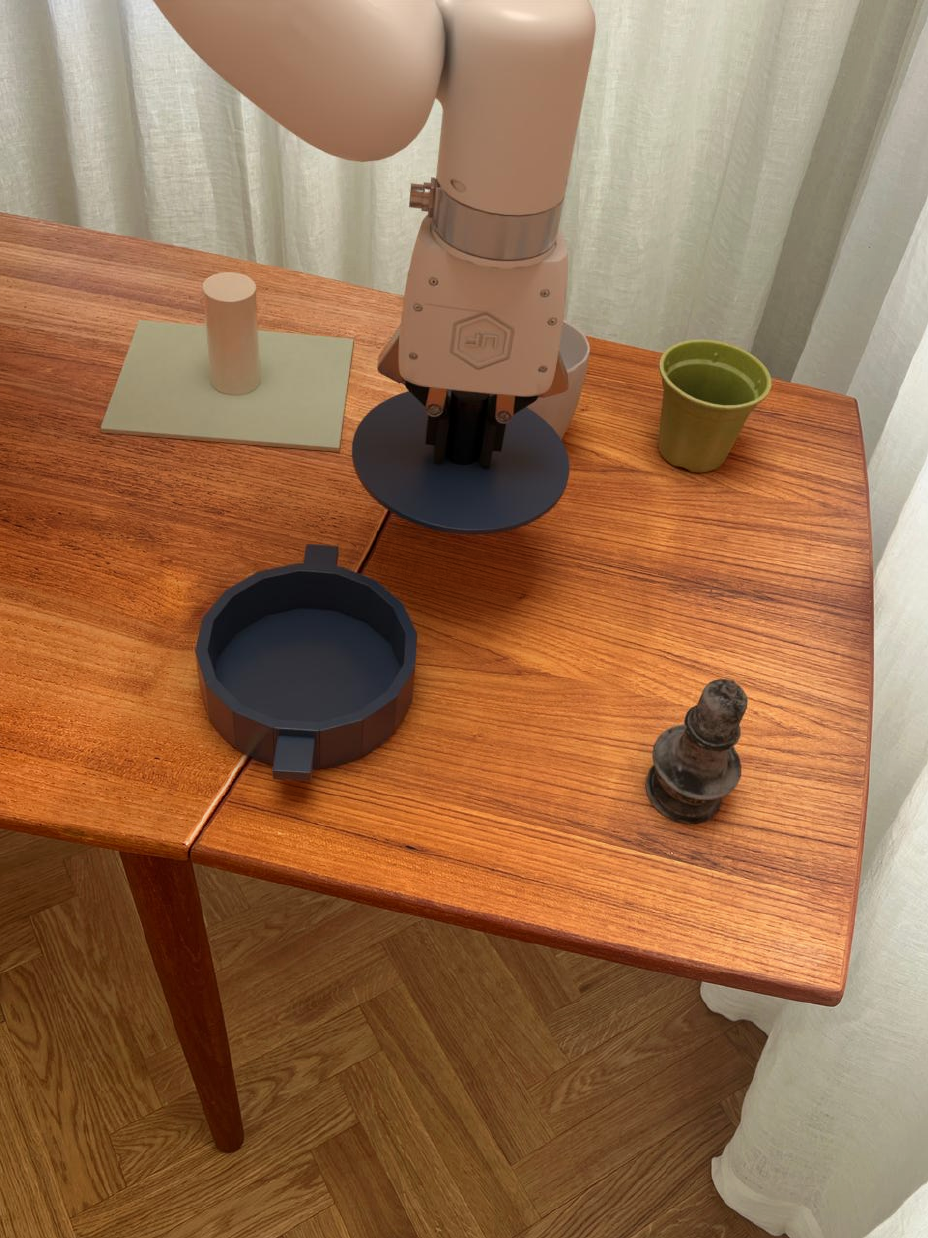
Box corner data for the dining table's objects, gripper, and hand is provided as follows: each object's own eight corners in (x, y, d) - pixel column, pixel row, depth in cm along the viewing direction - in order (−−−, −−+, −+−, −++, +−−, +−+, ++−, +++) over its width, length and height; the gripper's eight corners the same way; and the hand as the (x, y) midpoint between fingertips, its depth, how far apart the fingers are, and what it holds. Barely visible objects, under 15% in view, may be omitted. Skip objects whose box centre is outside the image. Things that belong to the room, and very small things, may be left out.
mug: (586, 429, 100) (608, 335, 93) (542, 484, 95) (560, 388, 87) (464, 378, 103) (475, 282, 96) (414, 427, 98) (422, 330, 90)
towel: (100, 432, 93) (99, 428, 93) (139, 323, 104) (139, 319, 104) (339, 452, 95) (339, 447, 94) (353, 342, 105) (353, 338, 105)
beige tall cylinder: (206, 393, 97) (197, 298, 90) (214, 363, 100) (206, 269, 93) (257, 397, 98) (252, 303, 91) (263, 367, 101) (259, 274, 94)
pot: (177, 797, 71) (170, 758, 68) (225, 572, 84) (221, 529, 81) (405, 811, 72) (410, 773, 69) (417, 586, 85) (421, 545, 82)
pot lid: (342, 530, 74) (345, 454, 69) (359, 388, 85) (363, 313, 80) (572, 551, 75) (591, 478, 71) (561, 408, 86) (577, 335, 81)
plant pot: (673, 496, 95) (698, 416, 89) (619, 429, 101) (640, 348, 94) (762, 474, 98) (793, 394, 92) (705, 410, 104) (731, 331, 97)
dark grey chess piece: (711, 750, 78) (762, 640, 69) (738, 823, 74) (796, 716, 65) (630, 758, 77) (672, 646, 68) (654, 832, 73) (701, 725, 64)
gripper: (354, 230, 62) (343, 477, 76) (637, 261, 64) (576, 499, 77) (363, 166, 67) (352, 408, 81) (626, 196, 69) (571, 430, 82)
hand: (462, 451), depth 79 cm, fingers closed on pot lid, 2 cm apart
